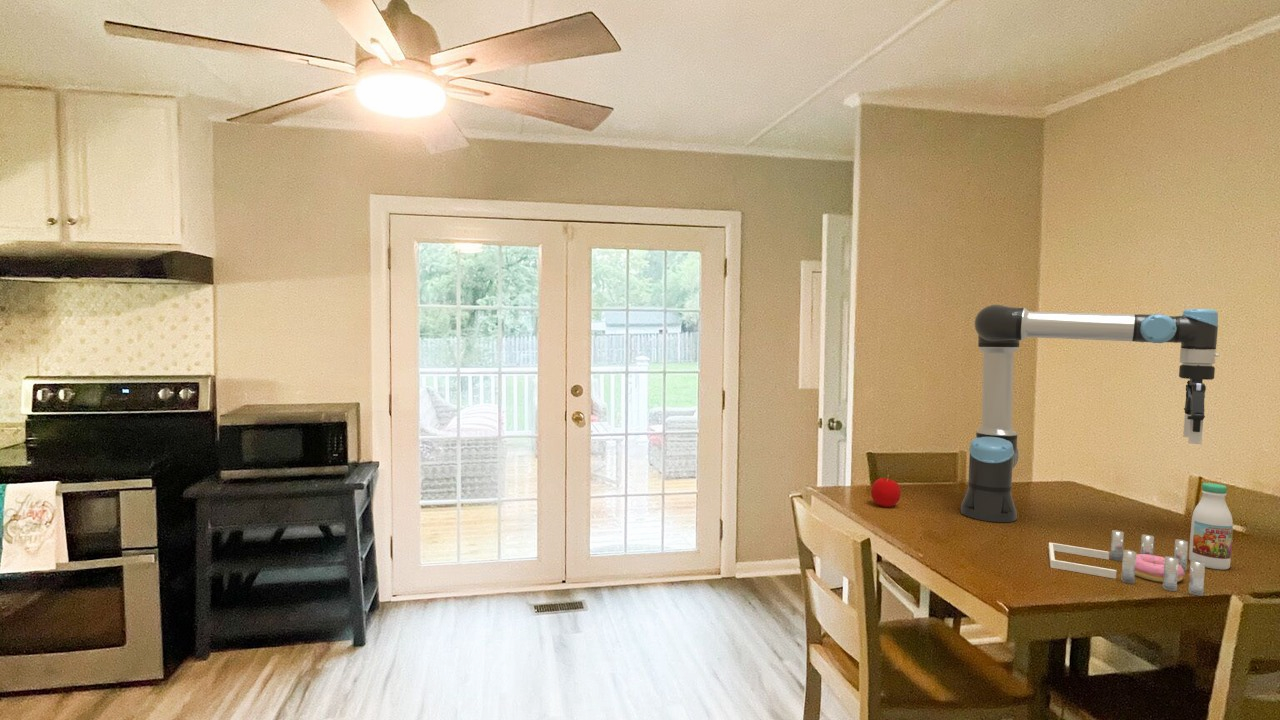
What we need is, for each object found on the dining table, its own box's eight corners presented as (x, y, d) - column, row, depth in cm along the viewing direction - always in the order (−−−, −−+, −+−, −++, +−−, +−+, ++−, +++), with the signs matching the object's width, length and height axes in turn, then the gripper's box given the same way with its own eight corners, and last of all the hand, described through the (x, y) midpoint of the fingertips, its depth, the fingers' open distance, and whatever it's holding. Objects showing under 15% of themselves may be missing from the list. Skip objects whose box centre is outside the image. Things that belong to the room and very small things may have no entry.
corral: (1050, 567, 157) (1051, 560, 157) (1048, 549, 171) (1048, 542, 171) (1116, 578, 151) (1116, 571, 151) (1108, 558, 164) (1109, 551, 164)
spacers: (1119, 581, 149) (1121, 551, 149) (1109, 556, 166) (1111, 529, 165) (1204, 596, 142) (1206, 564, 141) (1185, 568, 158) (1187, 540, 158)
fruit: (904, 509, 206) (906, 478, 205) (875, 509, 206) (877, 477, 205) (893, 501, 215) (895, 471, 215) (866, 501, 215) (867, 471, 215)
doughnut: (1114, 571, 157) (1115, 553, 156) (1142, 565, 161) (1143, 548, 161) (1166, 588, 146) (1167, 570, 146) (1194, 581, 151) (1196, 563, 151)
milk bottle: (1180, 559, 165) (1185, 480, 164) (1208, 559, 166) (1214, 480, 165) (1209, 570, 158) (1215, 488, 156) (1239, 570, 158) (1244, 488, 157)
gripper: (1221, 367, 170) (1216, 448, 171) (1209, 363, 190) (1204, 436, 191) (1184, 365, 174) (1178, 444, 175) (1175, 362, 195) (1171, 433, 196)
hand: (1192, 440), depth 183 cm, fingers open, 13 cm apart
